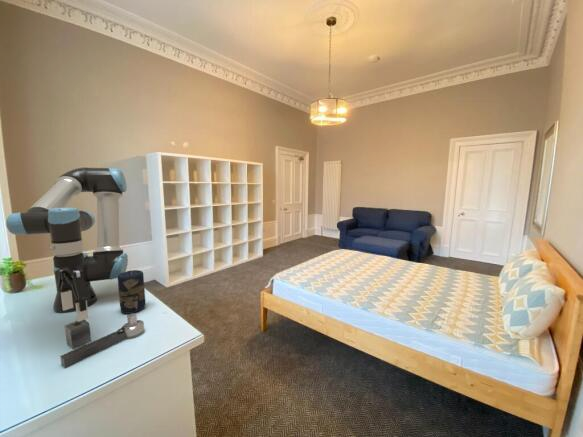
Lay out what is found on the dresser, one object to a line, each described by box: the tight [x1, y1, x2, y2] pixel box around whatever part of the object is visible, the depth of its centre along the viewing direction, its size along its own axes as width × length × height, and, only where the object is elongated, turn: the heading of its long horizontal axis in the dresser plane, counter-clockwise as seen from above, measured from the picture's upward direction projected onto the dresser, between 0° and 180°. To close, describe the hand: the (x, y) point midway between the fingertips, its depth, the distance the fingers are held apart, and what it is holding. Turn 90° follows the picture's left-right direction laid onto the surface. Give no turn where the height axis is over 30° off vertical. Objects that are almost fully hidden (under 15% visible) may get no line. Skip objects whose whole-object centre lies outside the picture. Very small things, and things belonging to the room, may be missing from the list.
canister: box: [117, 269, 146, 314], centre depth 108 cm, size 10×10×18 cm
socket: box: [64, 319, 92, 350], centre depth 86 cm, size 5×5×7 cm
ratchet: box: [60, 312, 145, 369], centre depth 84 cm, size 7×24×7 cm, turn 148°
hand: (75, 314), depth 84 cm, fingers open, 13 cm apart
